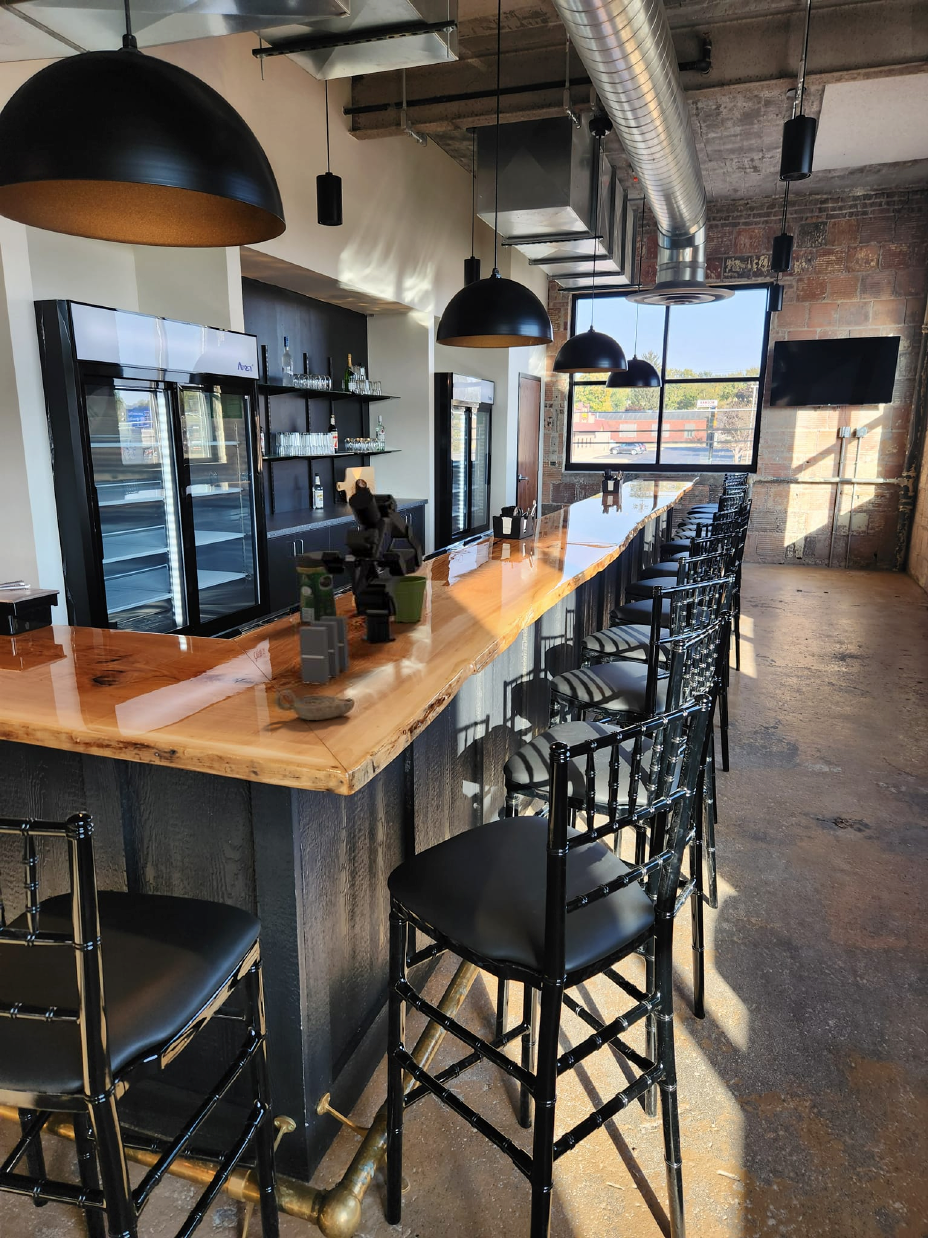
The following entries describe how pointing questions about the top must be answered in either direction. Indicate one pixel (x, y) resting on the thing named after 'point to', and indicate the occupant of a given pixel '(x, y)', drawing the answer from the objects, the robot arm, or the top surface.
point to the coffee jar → (315, 588)
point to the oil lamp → (316, 706)
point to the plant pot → (409, 598)
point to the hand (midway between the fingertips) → (354, 594)
